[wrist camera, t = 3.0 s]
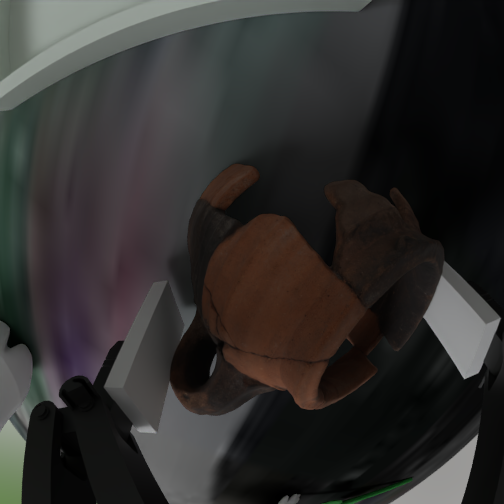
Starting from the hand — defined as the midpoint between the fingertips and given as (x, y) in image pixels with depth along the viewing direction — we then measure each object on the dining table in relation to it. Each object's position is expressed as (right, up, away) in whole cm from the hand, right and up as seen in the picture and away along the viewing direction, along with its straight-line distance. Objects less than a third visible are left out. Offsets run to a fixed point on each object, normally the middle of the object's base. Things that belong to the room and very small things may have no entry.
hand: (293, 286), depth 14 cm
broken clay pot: (-1, +1, +1) cm, 1 cm away
